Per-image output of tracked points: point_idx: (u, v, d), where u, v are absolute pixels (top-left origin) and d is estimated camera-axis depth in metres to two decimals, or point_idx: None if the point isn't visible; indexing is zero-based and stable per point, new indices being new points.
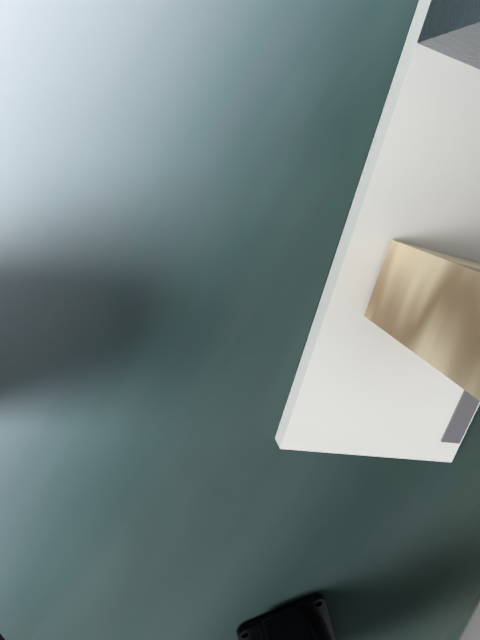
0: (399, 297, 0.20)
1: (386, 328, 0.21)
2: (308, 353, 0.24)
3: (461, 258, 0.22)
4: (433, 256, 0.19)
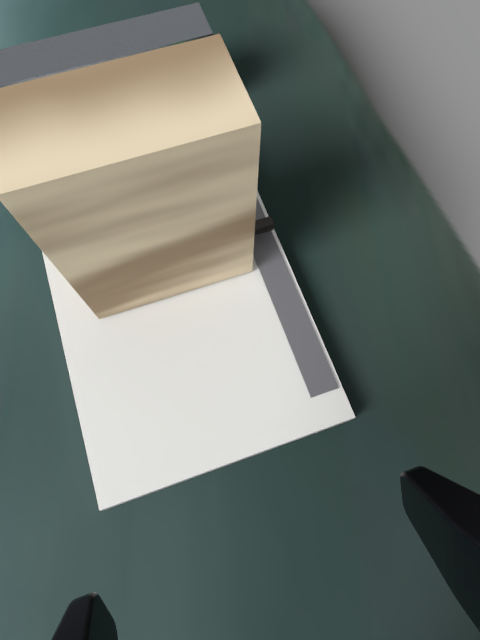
0: None
1: None
2: (74, 385, 0.21)
3: None
4: None
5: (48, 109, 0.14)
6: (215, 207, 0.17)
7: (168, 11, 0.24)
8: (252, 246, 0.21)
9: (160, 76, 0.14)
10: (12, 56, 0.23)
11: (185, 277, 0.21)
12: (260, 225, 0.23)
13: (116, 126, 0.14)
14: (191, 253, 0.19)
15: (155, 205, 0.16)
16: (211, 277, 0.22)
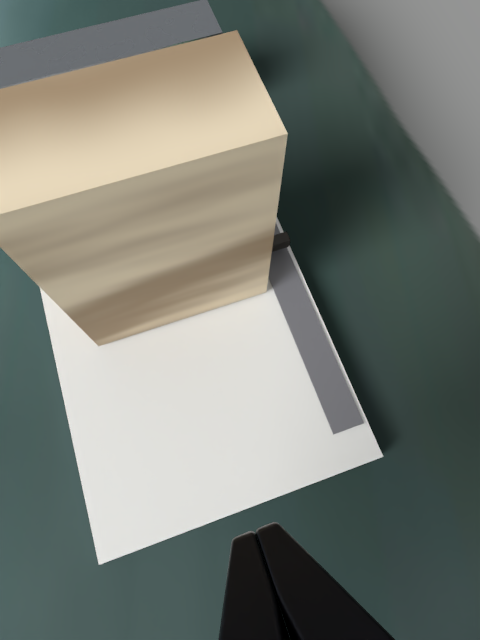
0: None
1: None
2: (70, 420, 0.19)
3: None
4: None
5: (38, 118, 0.12)
6: (229, 228, 0.15)
7: (174, 8, 0.22)
8: (268, 267, 0.19)
9: (168, 79, 0.12)
10: (3, 57, 0.21)
11: (193, 301, 0.19)
12: (275, 242, 0.21)
13: (118, 138, 0.12)
14: (201, 276, 0.17)
15: (162, 227, 0.14)
16: (222, 300, 0.20)
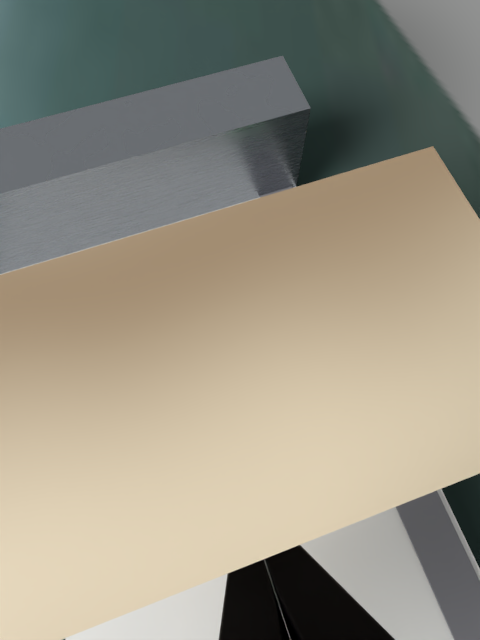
0: None
1: None
2: None
3: None
4: None
5: (16, 377, 0.05)
6: None
7: (237, 71, 0.15)
8: None
9: (307, 269, 0.06)
10: None
11: None
12: None
13: (205, 437, 0.05)
14: None
15: None
16: None
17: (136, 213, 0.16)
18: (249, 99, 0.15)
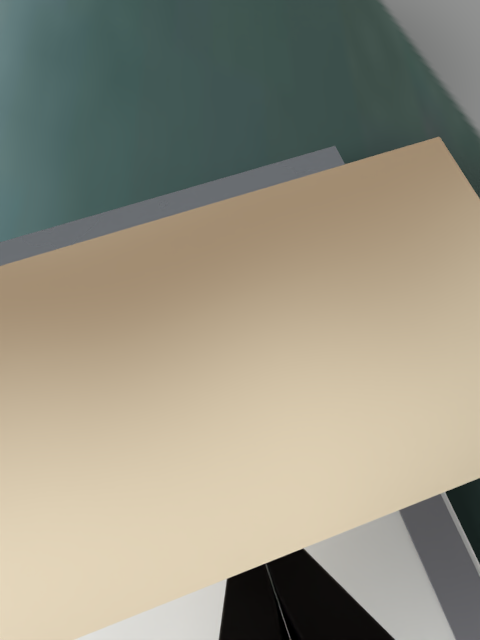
0: None
1: None
2: None
3: None
4: None
5: (8, 374, 0.05)
6: None
7: (284, 165, 0.14)
8: None
9: (309, 263, 0.05)
10: (3, 263, 0.12)
11: None
12: None
13: (204, 437, 0.05)
14: None
15: None
16: None
17: None
18: None
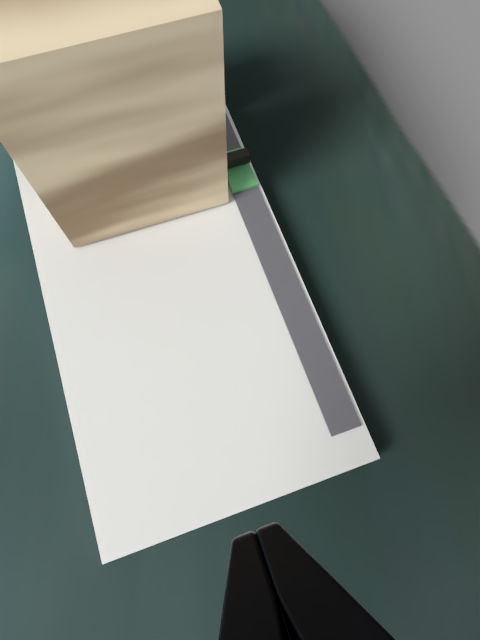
0: None
1: None
2: (73, 423, 0.20)
3: None
4: None
5: None
6: (183, 115, 0.17)
7: None
8: (226, 170, 0.21)
9: None
10: None
11: (159, 203, 0.21)
12: (236, 156, 0.23)
13: (76, 12, 0.14)
14: (163, 172, 0.19)
15: (121, 105, 0.16)
16: (186, 206, 0.22)
17: None
18: None
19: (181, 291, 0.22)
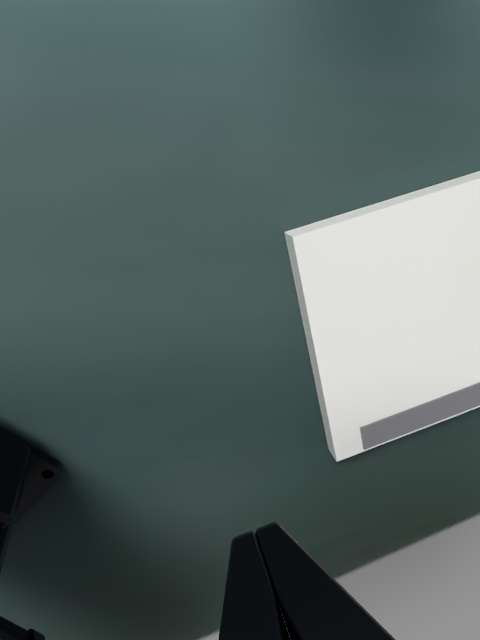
0: None
1: None
2: (418, 194, 0.19)
3: None
4: None
5: None
6: None
7: None
8: None
9: None
10: None
11: None
12: None
13: None
14: None
15: None
16: None
17: None
18: None
19: None
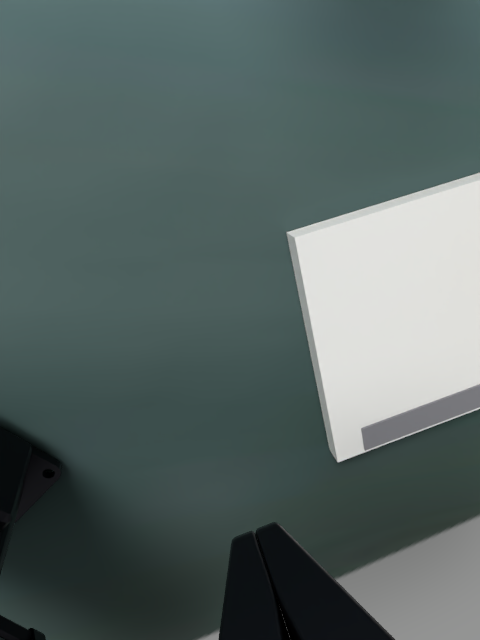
0: None
1: None
2: (421, 195, 0.19)
3: None
4: None
5: None
6: None
7: None
8: None
9: None
10: None
11: None
12: None
13: None
14: None
15: None
16: None
17: None
18: None
19: None
